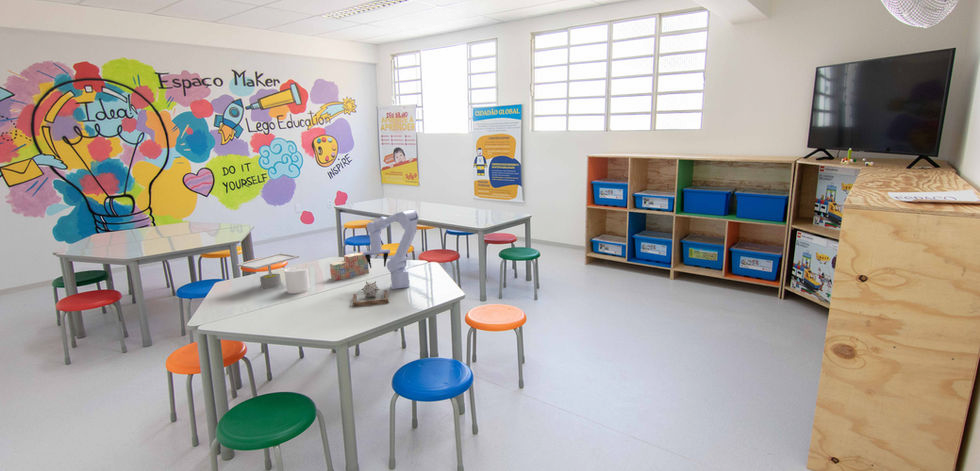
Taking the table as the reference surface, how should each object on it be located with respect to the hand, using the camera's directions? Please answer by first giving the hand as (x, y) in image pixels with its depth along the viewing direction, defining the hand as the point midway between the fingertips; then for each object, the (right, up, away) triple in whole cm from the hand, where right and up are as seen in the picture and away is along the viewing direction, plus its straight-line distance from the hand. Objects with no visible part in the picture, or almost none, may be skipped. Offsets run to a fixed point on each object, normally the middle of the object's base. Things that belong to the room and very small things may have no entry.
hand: (377, 267), depth 277 cm
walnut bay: (+2, -15, -26) cm, 30 cm away
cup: (-42, -13, -5) cm, 44 cm away
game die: (+1, -14, -21) cm, 25 cm away
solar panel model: (-61, -11, +5) cm, 62 cm away
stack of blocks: (-21, -7, +20) cm, 29 cm away
